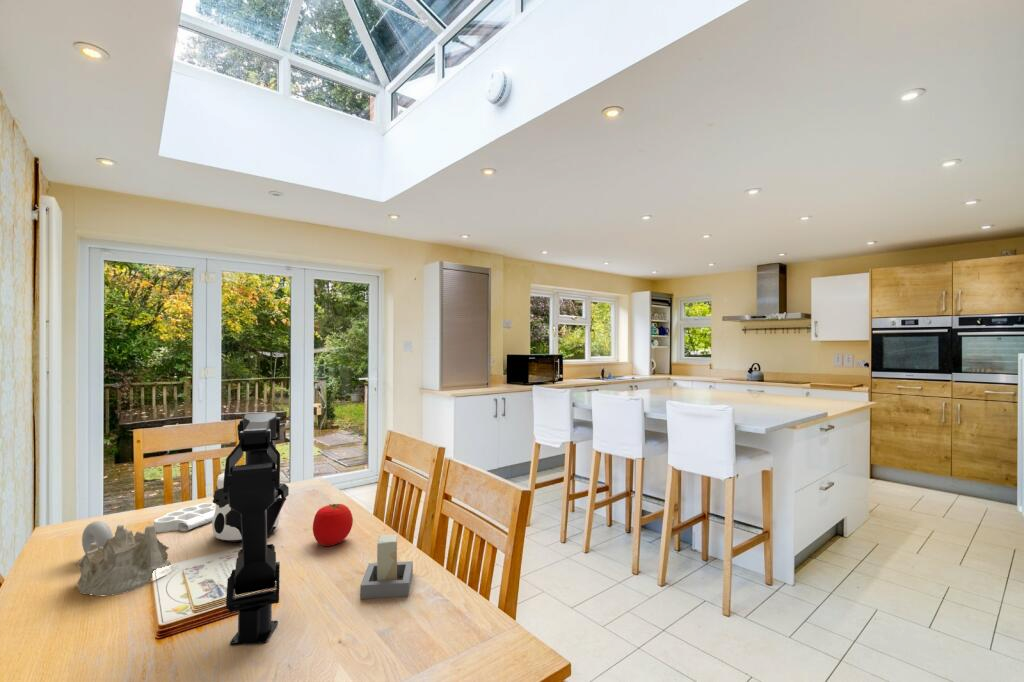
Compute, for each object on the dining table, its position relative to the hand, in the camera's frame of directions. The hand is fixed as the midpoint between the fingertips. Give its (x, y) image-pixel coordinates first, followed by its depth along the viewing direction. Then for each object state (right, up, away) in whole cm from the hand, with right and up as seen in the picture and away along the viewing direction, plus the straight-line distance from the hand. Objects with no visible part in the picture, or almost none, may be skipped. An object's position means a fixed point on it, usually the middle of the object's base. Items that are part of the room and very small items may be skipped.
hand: (259, 542), depth 102 cm
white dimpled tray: (-46, -14, +45) cm, 66 cm away
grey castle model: (-37, -13, +10) cm, 40 cm away
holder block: (+26, -13, +7) cm, 30 cm away
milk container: (-23, -13, +35) cm, 44 cm away
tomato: (+4, -14, +31) cm, 34 cm away
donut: (-52, -13, +19) cm, 57 cm away
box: (+26, -14, +7) cm, 30 cm away
